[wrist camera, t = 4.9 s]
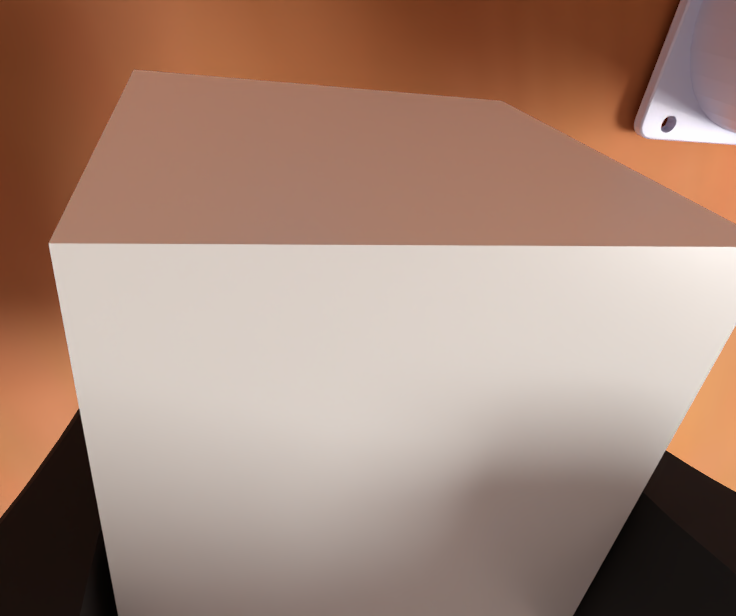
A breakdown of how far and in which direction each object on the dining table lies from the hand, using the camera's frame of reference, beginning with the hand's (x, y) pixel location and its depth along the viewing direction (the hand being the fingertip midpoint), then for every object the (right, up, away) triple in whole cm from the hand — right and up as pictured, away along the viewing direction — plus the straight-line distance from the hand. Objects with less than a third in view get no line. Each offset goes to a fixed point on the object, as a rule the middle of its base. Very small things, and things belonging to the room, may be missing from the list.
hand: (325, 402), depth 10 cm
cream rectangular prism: (0, +1, +1) cm, 2 cm away
